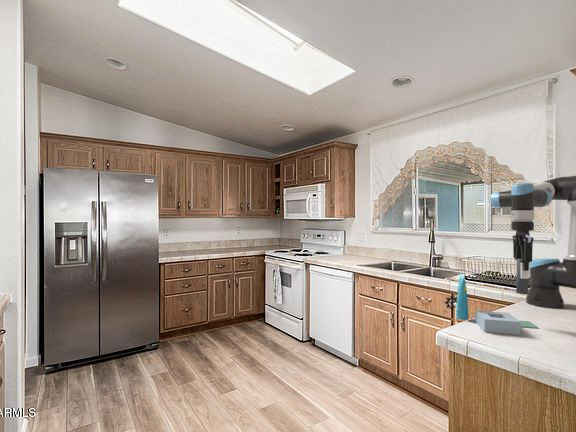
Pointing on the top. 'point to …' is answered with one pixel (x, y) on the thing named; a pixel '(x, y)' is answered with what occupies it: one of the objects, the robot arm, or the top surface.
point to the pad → (527, 324)
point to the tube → (462, 300)
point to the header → (497, 322)
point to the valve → (451, 302)
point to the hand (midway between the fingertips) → (522, 277)
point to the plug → (520, 280)
